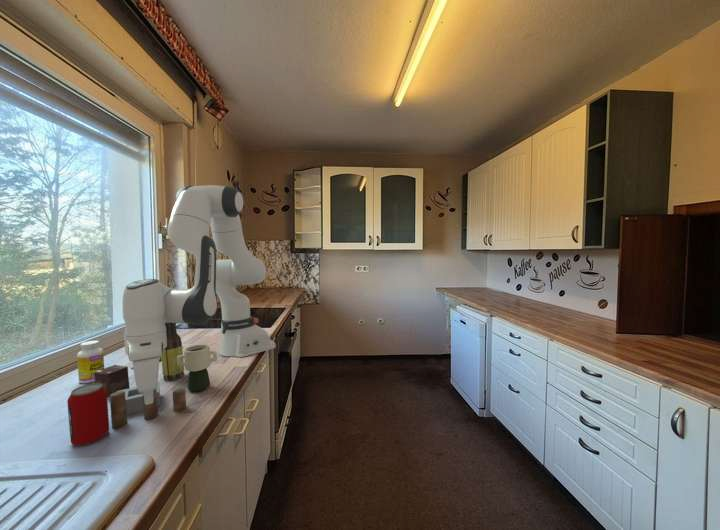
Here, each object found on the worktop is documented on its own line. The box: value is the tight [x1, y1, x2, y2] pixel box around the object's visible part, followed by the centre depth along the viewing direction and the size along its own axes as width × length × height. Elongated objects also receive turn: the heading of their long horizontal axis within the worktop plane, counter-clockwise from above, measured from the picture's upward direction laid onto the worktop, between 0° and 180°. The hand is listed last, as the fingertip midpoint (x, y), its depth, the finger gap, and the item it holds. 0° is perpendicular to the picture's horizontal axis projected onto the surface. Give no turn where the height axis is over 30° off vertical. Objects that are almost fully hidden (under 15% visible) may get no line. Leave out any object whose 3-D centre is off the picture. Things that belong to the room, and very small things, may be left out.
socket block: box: [117, 381, 161, 416], centre depth 85 cm, size 10×8×4 cm
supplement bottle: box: [76, 340, 105, 384], centre depth 103 cm, size 7×7×13 cm
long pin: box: [143, 389, 159, 421], centre depth 79 cm, size 3×3×11 cm
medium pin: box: [109, 391, 128, 430], centre depth 76 cm, size 3×3×8 cm
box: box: [94, 364, 130, 398], centre depth 94 cm, size 6×6×7 cm
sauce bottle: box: [160, 322, 185, 382], centre depth 103 cm, size 6×6×20 cm
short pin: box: [172, 388, 187, 413], centre depth 83 cm, size 3×3×5 cm
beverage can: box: [67, 382, 110, 446], centre depth 70 cm, size 7×7×12 cm
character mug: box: [177, 343, 218, 392], centre depth 95 cm, size 11×7×13 cm, turn 112°
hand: (149, 395), depth 79 cm, fingers open, 8 cm apart
